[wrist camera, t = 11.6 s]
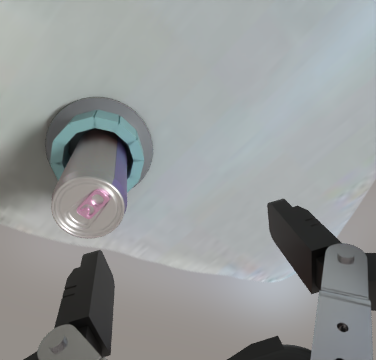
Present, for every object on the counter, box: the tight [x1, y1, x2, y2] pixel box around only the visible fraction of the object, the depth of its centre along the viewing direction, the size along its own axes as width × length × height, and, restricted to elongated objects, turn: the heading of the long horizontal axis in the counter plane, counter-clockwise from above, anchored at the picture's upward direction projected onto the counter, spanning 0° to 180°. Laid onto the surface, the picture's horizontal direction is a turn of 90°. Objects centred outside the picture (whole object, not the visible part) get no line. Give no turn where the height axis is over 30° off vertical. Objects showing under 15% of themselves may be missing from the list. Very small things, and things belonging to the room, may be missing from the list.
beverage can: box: [51, 129, 127, 238], centre depth 30 cm, size 6×6×15 cm
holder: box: [45, 97, 153, 192], centre depth 35 cm, size 13×13×5 cm
